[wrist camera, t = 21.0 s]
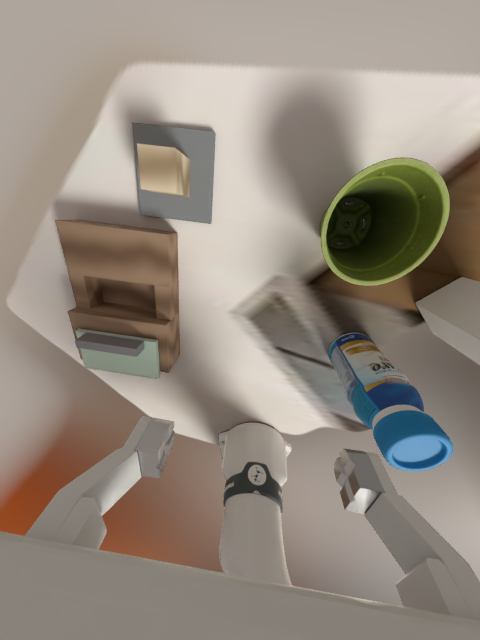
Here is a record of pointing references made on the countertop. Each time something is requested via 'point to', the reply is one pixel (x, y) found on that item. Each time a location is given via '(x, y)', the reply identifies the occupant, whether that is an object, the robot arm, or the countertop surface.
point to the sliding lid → (119, 353)
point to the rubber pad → (201, 172)
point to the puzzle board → (124, 282)
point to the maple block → (163, 170)
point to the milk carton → (455, 315)
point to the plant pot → (385, 221)
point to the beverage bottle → (388, 405)
